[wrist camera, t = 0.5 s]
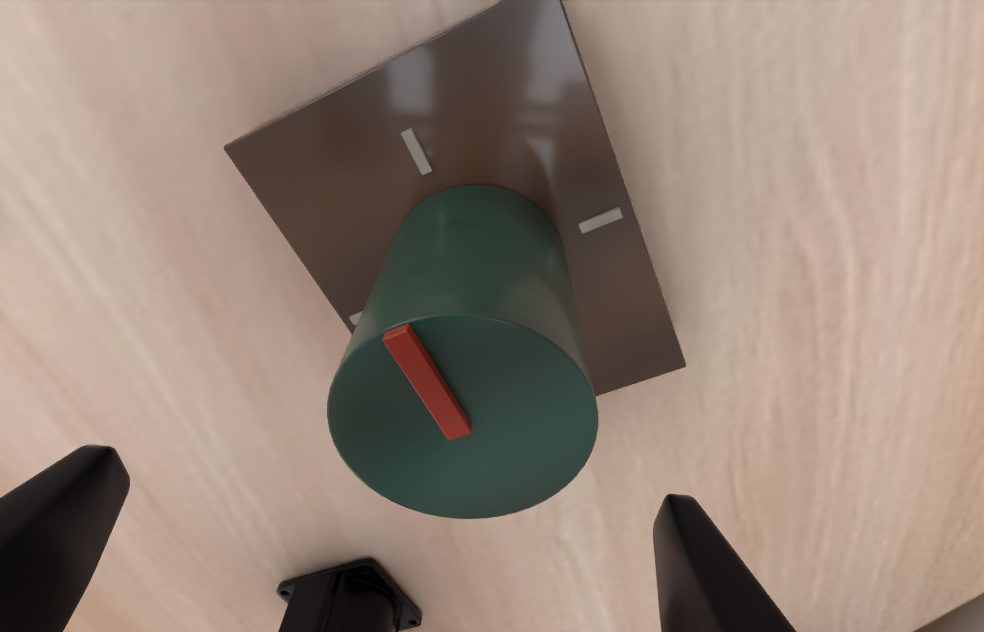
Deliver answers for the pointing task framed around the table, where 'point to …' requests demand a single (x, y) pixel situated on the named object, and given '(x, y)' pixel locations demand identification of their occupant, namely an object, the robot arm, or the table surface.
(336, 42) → the table surface
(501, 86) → the dial knob base plate
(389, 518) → the table surface
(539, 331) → the rotary knob
